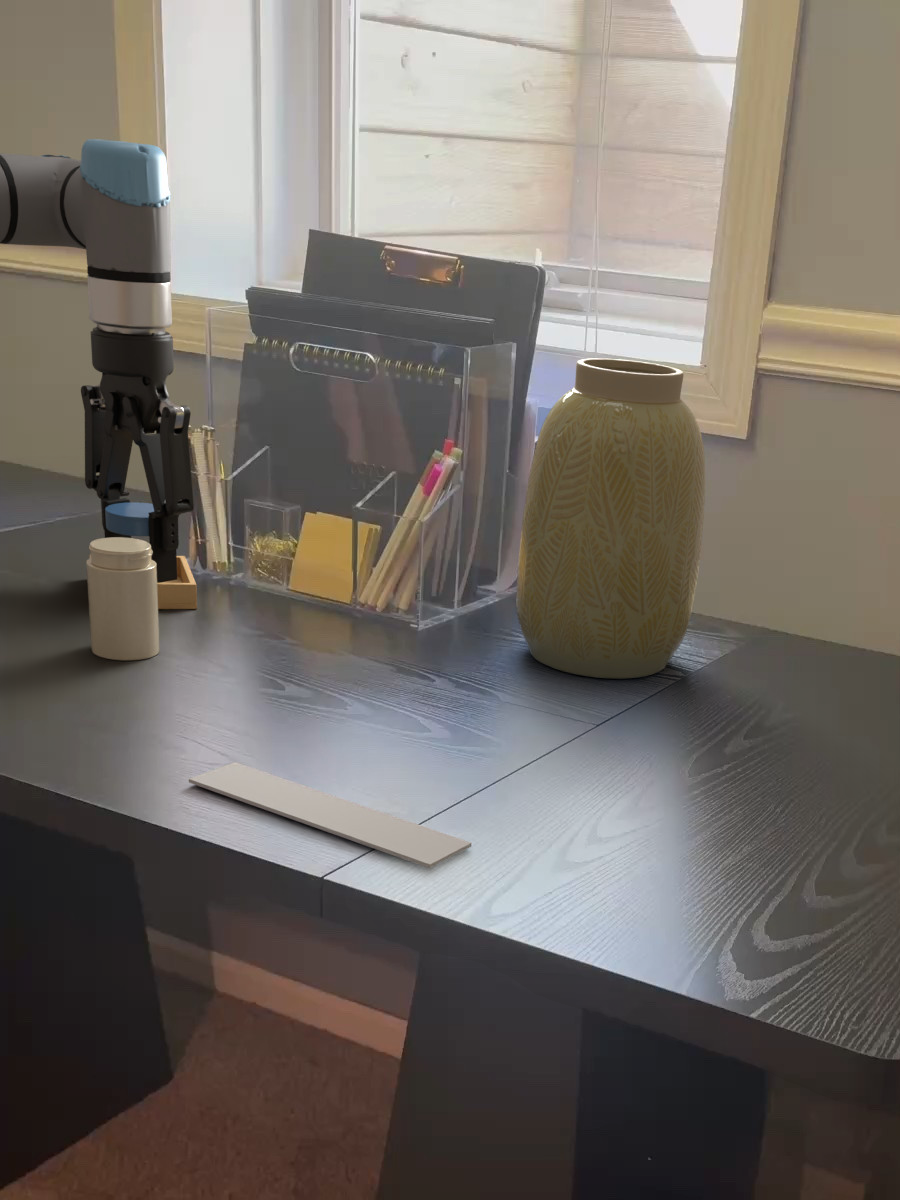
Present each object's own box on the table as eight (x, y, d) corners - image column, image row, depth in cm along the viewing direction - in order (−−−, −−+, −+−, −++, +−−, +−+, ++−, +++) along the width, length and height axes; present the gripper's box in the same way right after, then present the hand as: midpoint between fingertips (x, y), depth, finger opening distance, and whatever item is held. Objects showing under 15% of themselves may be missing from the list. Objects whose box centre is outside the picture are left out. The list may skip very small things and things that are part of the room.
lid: (92, 525, 146) (91, 506, 145) (145, 518, 151) (145, 499, 150) (132, 539, 143) (131, 520, 142) (186, 531, 147) (185, 513, 146)
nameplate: (235, 766, 111) (188, 783, 107) (235, 761, 111) (188, 778, 107) (471, 847, 102) (429, 869, 98) (471, 842, 102) (430, 864, 98)
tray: (90, 578, 153) (89, 554, 152) (185, 579, 156) (185, 555, 155) (96, 609, 144) (95, 583, 143) (197, 609, 147) (196, 584, 146)
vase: (568, 693, 134) (600, 380, 121) (479, 638, 146) (500, 349, 133) (719, 678, 142) (764, 383, 129) (622, 627, 155) (655, 354, 142)
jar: (77, 648, 133) (70, 541, 128) (131, 636, 137) (126, 533, 133) (119, 664, 130) (114, 556, 125) (173, 652, 134) (170, 547, 129)
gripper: (231, 342, 136) (233, 589, 147) (100, 313, 145) (111, 547, 157) (166, 344, 130) (174, 600, 141) (35, 314, 140) (51, 556, 151)
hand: (141, 572), depth 149 cm, fingers closed on lid, 6 cm apart
